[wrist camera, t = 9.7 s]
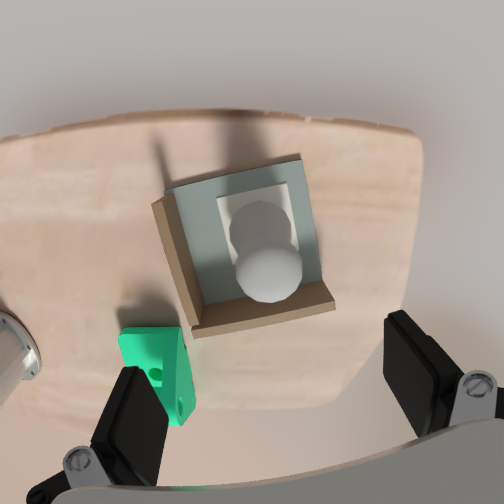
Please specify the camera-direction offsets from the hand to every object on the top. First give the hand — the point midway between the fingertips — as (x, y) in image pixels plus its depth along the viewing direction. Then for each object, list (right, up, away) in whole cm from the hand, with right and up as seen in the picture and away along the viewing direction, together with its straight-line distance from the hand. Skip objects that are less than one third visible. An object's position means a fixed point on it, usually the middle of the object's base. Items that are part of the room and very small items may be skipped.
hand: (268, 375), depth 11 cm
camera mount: (-12, -10, +27) cm, 31 cm away
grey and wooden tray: (-1, +6, +21) cm, 22 cm away
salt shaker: (0, +7, +20) cm, 22 cm away
